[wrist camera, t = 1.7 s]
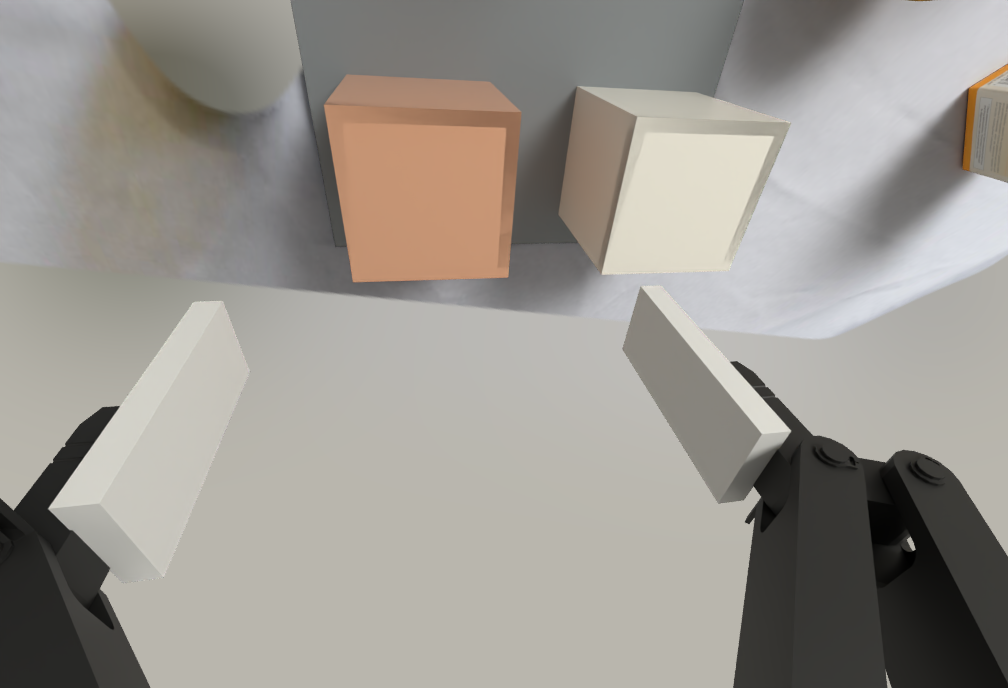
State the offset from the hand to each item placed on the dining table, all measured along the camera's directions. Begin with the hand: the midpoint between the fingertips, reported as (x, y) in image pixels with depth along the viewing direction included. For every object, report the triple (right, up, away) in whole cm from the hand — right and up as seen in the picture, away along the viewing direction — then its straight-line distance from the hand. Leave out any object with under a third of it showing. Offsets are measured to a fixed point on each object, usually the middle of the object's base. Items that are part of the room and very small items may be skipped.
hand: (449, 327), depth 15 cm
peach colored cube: (-4, +13, +16) cm, 21 cm away
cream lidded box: (+11, +14, +19) cm, 26 cm away
